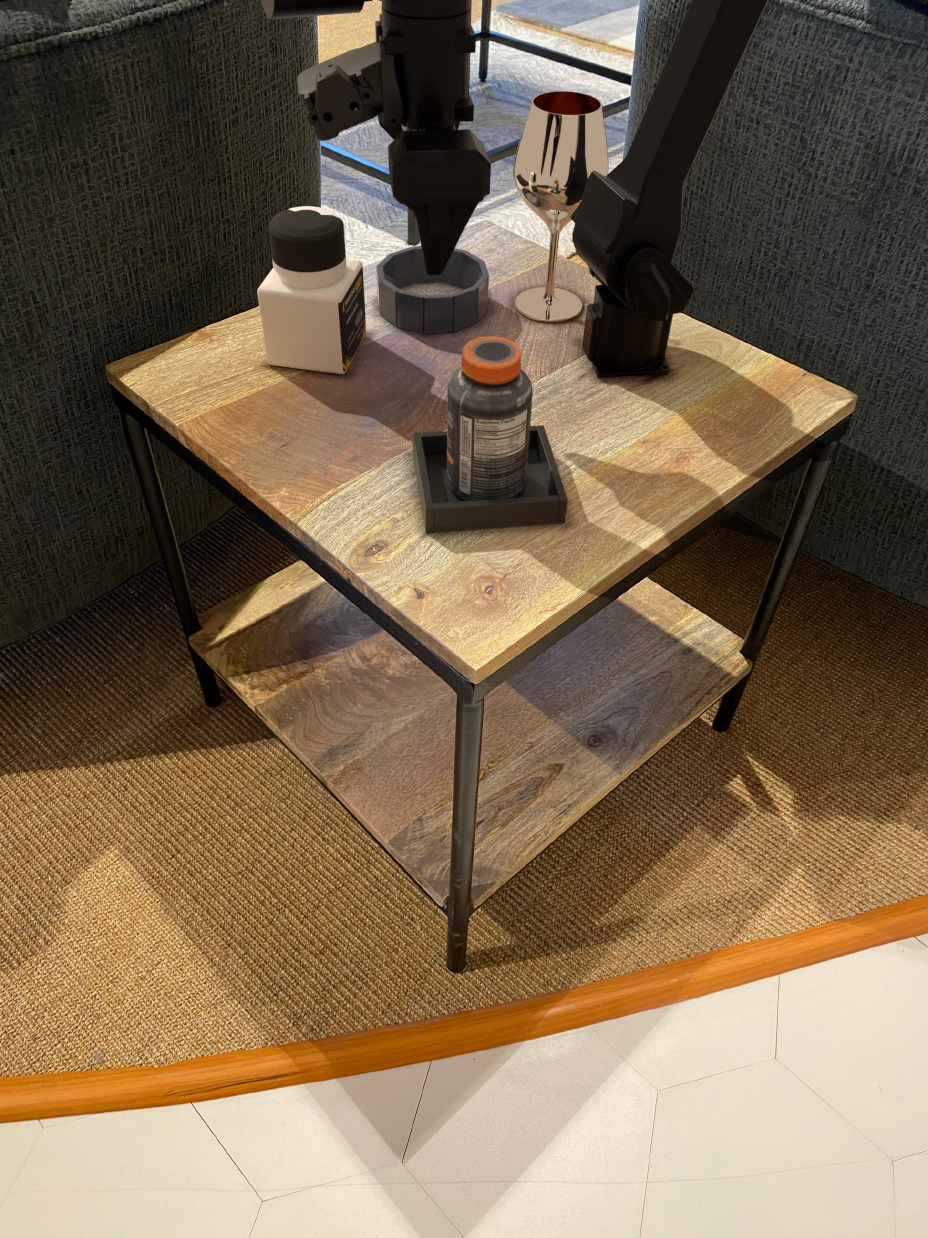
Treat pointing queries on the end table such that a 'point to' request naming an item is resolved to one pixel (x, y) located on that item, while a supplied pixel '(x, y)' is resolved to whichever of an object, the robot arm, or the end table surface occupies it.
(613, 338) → the robot arm
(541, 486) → the tray
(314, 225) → the medicine bottle
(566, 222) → the wineglass
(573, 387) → the end table surface
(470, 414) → the pill bottle
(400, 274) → the bowl
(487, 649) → the end table surface
